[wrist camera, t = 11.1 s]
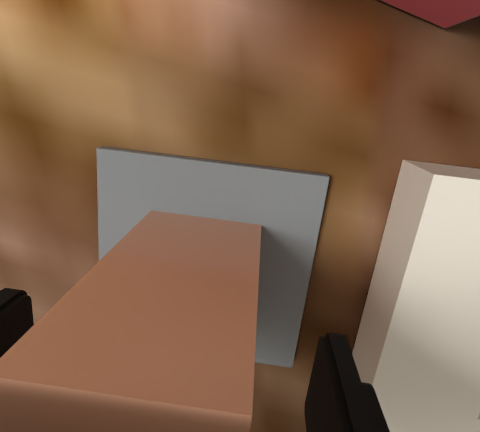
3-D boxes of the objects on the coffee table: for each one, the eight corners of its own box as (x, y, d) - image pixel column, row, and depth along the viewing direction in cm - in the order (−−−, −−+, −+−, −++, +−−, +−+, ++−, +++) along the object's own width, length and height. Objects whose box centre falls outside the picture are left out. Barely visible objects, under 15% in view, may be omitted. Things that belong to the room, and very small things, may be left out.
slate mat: (327, 173, 16) (329, 177, 15) (291, 359, 19) (292, 367, 18) (102, 146, 16) (96, 148, 15) (105, 333, 19) (100, 340, 19)
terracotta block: (261, 224, 16) (252, 416, 6) (247, 319, 17) (224, 584, 8) (150, 210, 16) (-17, 375, 7) (147, 305, 18) (9, 547, 8)
